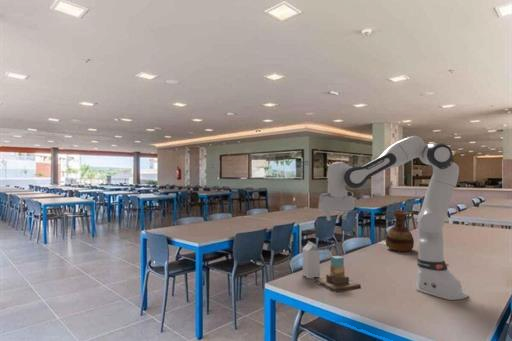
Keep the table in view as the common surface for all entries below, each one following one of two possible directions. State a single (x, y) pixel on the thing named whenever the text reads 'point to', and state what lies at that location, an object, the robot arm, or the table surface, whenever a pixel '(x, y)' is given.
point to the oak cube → (337, 271)
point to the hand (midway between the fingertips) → (336, 219)
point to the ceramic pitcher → (399, 234)
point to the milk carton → (311, 261)
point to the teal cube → (337, 261)
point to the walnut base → (339, 287)
